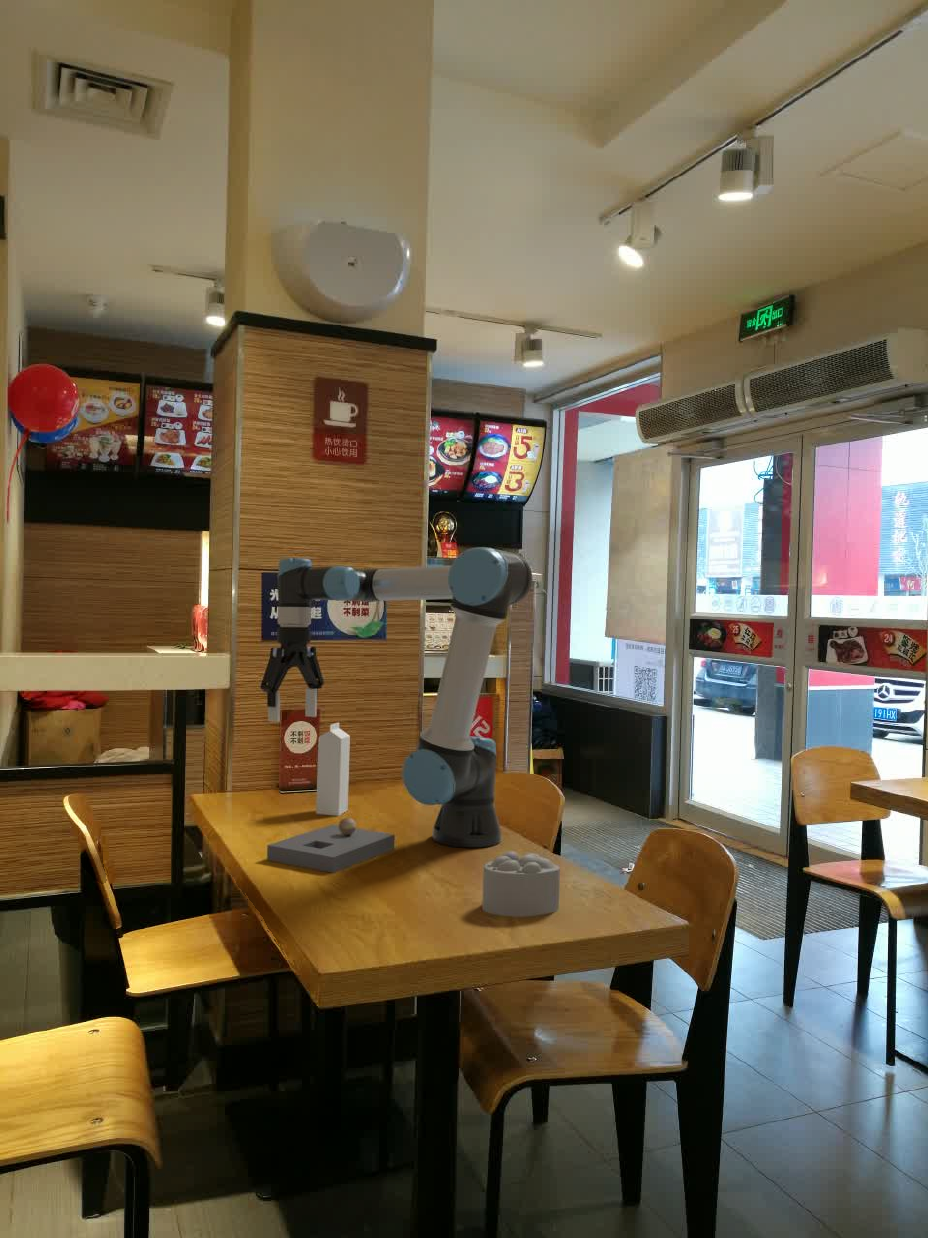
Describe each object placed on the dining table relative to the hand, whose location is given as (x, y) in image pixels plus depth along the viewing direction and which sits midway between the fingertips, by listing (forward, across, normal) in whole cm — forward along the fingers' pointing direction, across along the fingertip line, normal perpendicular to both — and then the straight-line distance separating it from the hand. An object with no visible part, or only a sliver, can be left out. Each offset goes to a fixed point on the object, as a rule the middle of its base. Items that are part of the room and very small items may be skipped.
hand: (292, 719), depth 213 cm
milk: (+25, -18, -2) cm, 31 cm away
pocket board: (+25, +14, +21) cm, 36 cm away
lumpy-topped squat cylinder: (+27, +24, +67) cm, 76 cm away
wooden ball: (+20, +9, +21) cm, 31 cm away
